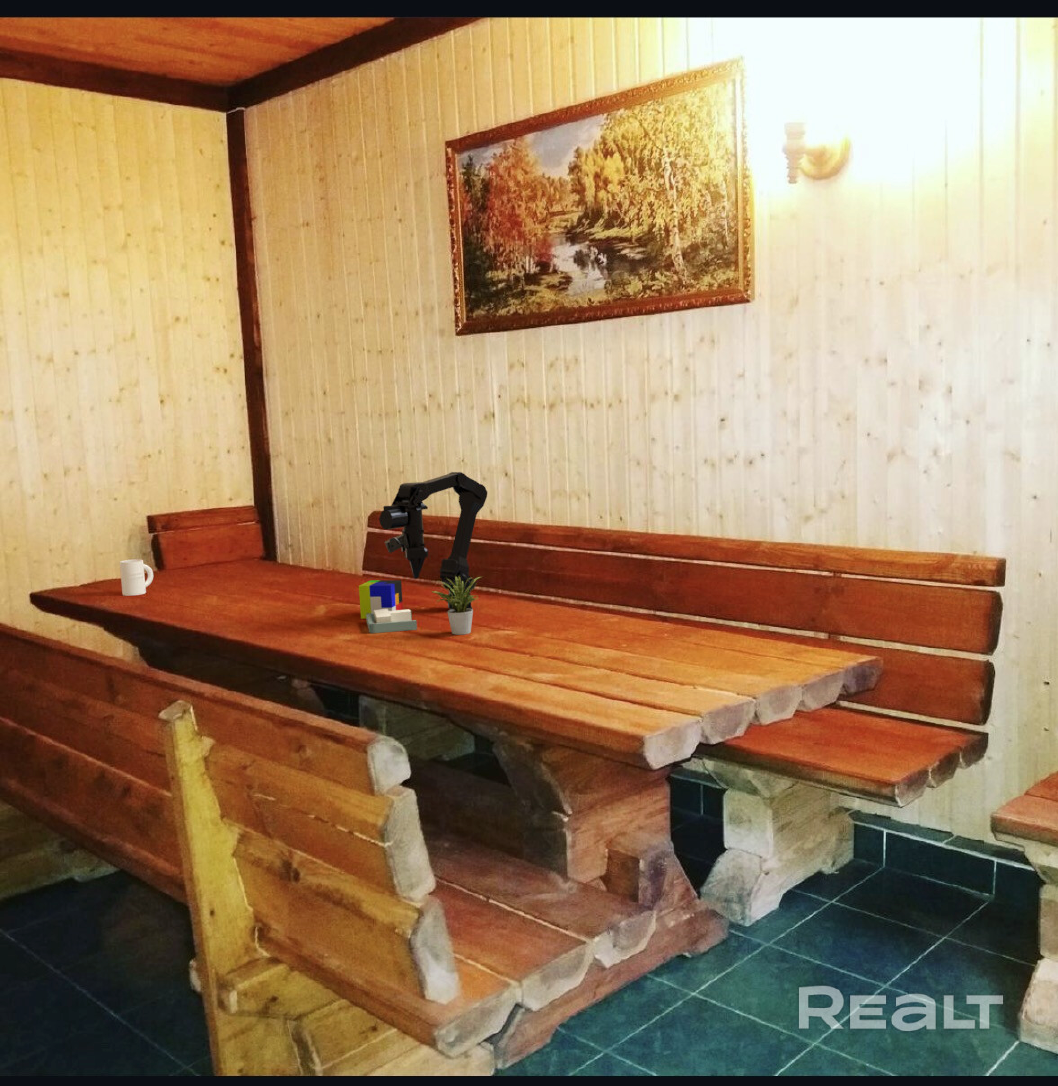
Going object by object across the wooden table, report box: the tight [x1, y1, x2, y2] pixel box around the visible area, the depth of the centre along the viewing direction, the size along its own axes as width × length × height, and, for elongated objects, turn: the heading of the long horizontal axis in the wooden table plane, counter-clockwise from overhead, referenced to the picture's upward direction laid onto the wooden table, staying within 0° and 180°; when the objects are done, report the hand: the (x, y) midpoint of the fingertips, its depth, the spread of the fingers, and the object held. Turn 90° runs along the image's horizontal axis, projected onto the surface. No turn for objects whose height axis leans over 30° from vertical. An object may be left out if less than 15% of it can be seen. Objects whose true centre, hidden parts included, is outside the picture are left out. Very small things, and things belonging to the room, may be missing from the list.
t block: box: [374, 608, 412, 623], centre depth 320 cm, size 10×12×4 cm
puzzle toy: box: [358, 579, 404, 619], centre depth 337 cm, size 10×10×10 cm
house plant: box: [431, 576, 483, 636], centre depth 306 cm, size 14×14×16 cm
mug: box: [119, 558, 154, 597], centre depth 401 cm, size 8×12×12 cm
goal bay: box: [365, 609, 418, 634], centre depth 320 cm, size 13×17×2 cm
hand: (416, 578), depth 328 cm, fingers closed
